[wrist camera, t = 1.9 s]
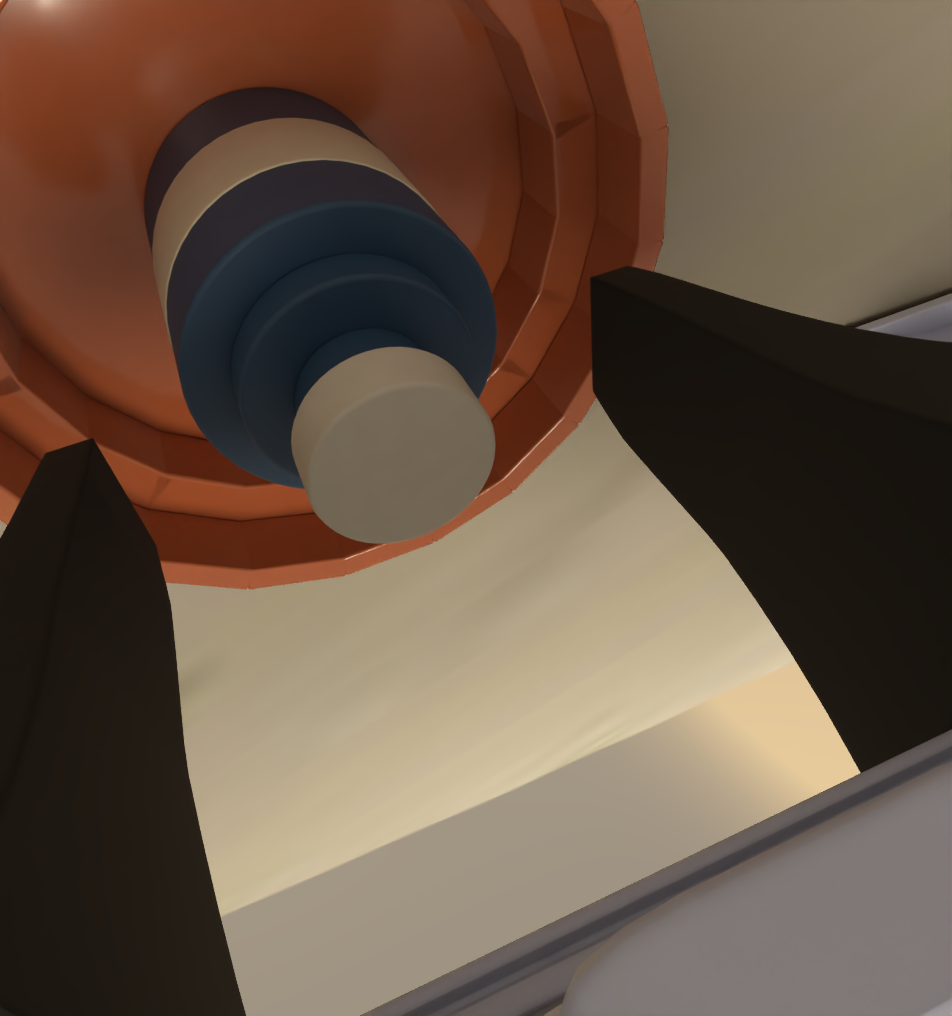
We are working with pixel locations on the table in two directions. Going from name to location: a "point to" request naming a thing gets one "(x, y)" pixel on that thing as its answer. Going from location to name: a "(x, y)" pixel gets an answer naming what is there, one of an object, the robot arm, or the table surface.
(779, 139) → the table surface
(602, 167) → the terracotta bowl
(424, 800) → the table surface
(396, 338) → the bottle
